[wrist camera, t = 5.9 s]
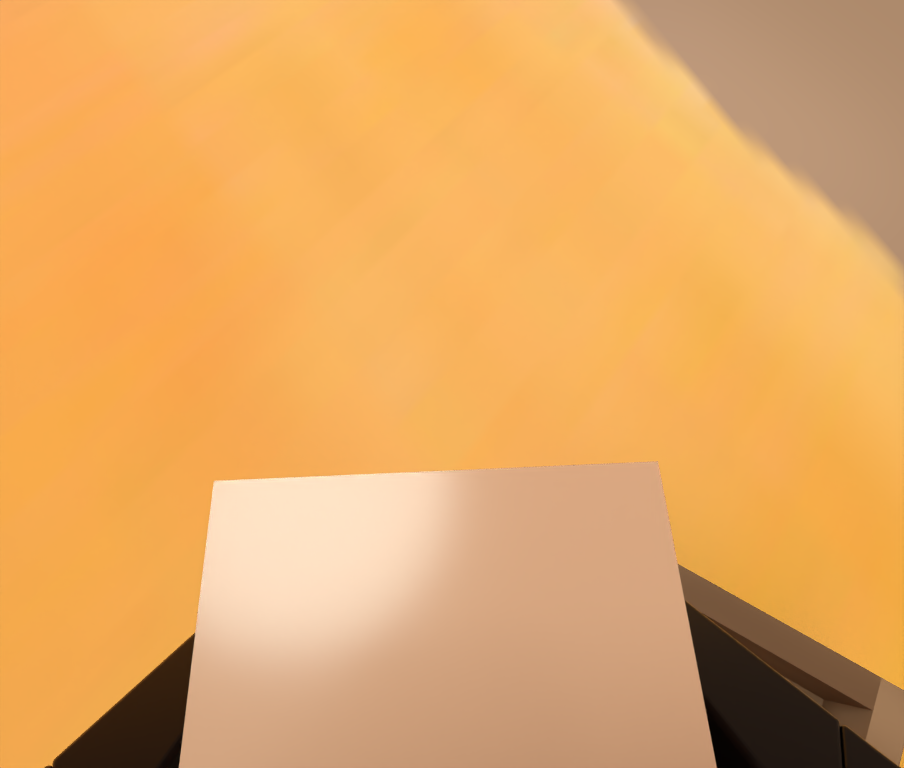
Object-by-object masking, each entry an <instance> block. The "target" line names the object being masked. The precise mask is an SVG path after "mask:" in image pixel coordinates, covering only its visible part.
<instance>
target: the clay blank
mask: <svg viewBox="0 0 904 768" xmlns="http://www.w3.org/2000/svg"><path fill="white" fill-rule="evenodd" d="M179 768H717V766H716V761H715V756H714V750H713V745H712V740H711V735H710V730H709V724H708V719H707V714H706V709H705V704H704V699H703V693H702V688H701V683H700V678H699V673H698V667H697V662H696V657H695V652H694V647H693V641H692V636H691V631H690V626H689V621H688V615H687V610H686V605H685V600H684V595H683V590H682V584H681V579H680V574H679V569H678V564H677V558H676V553H675V548H674V543H673V538H672V532H671V527H670V522H669V517H668V512H667V506H666V501H665V496H664V491H663V486H662V481H661V475H660V470H659V465H658V461H657V462H635V463H612V464H589V465H566V466H544V467H521V468H498V469H476V470H453V471H430V472H407V473H385V474H362V475H339V476H316V477H294V478H271V479H248V480H225V481H214V485H213V493H212V502H211V510H210V518H209V526H208V534H207V542H206V551H205V559H204V567H203V575H202V583H201V591H200V599H199V608H198V616H197V624H196V632H195V640H194V648H193V657H192V665H191V673H190V681H189V689H188V697H187V705H186V714H185V722H184V730H183V738H182V746H181V754H180V763H179Z"/></svg>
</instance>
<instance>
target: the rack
mask: <svg viewBox="0 0 904 768" xmlns="http://www.w3.org/2000/svg"><path fill="white" fill-rule="evenodd" d="M678 569H679V574H680V579H681V584H682V590H683V595H684V600H686V601H687V602H688V603H690V604H691V605H692V606H693V607H695V608H696V609H697V610H698V611H700V612H701V613H702V614H704V615H705V616H706V617H707V618H709V619H710V620H711V621H713V622H714V623H715V624H716V625H718V626H719V627H720V628H722V629H723V630H724V631H725V632H727V633H728V634H729V635H731V636H732V637H733V638H734V639H736V640H737V641H738V642H739V643H741V644H742V645H743V646H745V647H746V648H747V649H748V650H750V651H751V652H752V653H754V654H755V655H756V656H757V657H759V658H760V659H761V660H763V661H764V662H765V663H766V664H768V665H769V666H770V667H772V668H773V669H774V670H775V671H777V672H778V673H779V674H780V675H782V676H783V677H784V678H786V679H787V680H788V681H789V682H791V683H792V684H793V685H795V686H796V687H797V688H798V689H800V690H801V691H802V692H804V693H805V694H806V695H807V696H809V697H810V698H811V699H813V700H814V701H815V702H816V703H818V704H819V705H820V706H821V707H823V708H824V709H825V710H827V711H828V712H829V713H830V714H832V715H833V716H834V717H836V718H837V719H838V720H839V722H840V727H841V726H842V725H846V726H847V727H849V728H850V729H851V730H853V731H854V732H855V733H856V734H858V735H859V736H860V737H862V738H863V739H864V740H865V741H867V742H868V743H869V744H871V745H872V746H873V747H874V748H876V749H877V750H878V751H880V752H881V753H882V754H884V755H885V756H886V757H888V758H889V759H890V760H892V761H893V762H894V763H896V764H897V765H898V766H899V765H900V761H901V756H902V752H903V748H904V690H902V689H901V688H899V687H897V686H895V685H893V684H892V683H890V682H888V681H886V680H884V679H883V678H881V677H879V676H877V675H875V674H874V673H872V672H870V671H868V670H867V669H865V668H863V667H861V666H859V665H858V664H856V663H854V662H852V661H850V660H849V659H847V658H845V657H843V656H841V655H840V654H838V653H836V652H834V651H833V650H831V649H829V648H827V647H825V646H824V645H822V644H820V643H818V642H816V641H815V640H813V639H811V638H809V637H808V636H806V635H804V634H802V633H800V632H799V631H797V630H795V629H793V628H791V627H790V626H788V625H786V624H784V623H782V622H781V621H779V620H777V619H775V618H774V617H772V616H770V615H768V614H766V613H765V612H763V611H761V610H759V609H757V608H756V607H754V606H752V605H750V604H748V603H747V602H745V601H743V600H741V599H740V598H738V597H736V596H734V595H732V594H731V593H729V592H727V591H725V590H723V589H722V588H720V587H718V586H716V585H714V584H713V583H711V582H709V581H707V580H706V579H704V578H702V577H700V576H698V575H697V574H695V573H693V572H691V571H689V570H688V569H686V568H684V567H682V566H680V565H679V564H678Z"/></svg>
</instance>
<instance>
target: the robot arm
mask: <svg viewBox="0 0 904 768" xmlns="http://www.w3.org/2000/svg"><path fill="white" fill-rule="evenodd" d="M685 605H686V610H687V615H688V621H689V626H690V631H691V636H692V641H693V647H694V652H695V657H696V662H697V667H698V673H699V678H700V683H701V688H702V693H703V699H704V704H705V709H706V714H707V719H708V724H709V730H710V735H711V740H712V745H713V750H714V756H715V761H716V766H717V768H901V767H899V766H898V765H897V764H896V763H894V762H893V761H892V760H890V759H889V758H888V757H886V756H885V755H884V754H882V753H881V752H880V751H878V750H877V749H876V748H874V747H873V746H872V745H871V744H869V743H868V742H867V741H865V740H864V739H863V738H862V737H860V736H859V735H858V734H856V733H855V732H854V731H853V730H851V729H850V728H849V727H847V726H846V725H842V726H841V727H840V722H839V720H838V719H837V718H836V717H834V716H833V715H832V714H830V713H829V712H828V711H827V710H825V709H824V708H823V707H821V706H820V705H819V704H818V703H816V702H815V701H814V700H813V699H811V698H810V697H809V696H807V695H806V694H805V693H804V692H802V691H801V690H800V689H798V688H797V687H796V686H795V685H793V684H792V683H791V682H789V681H788V680H787V679H786V678H784V677H783V676H782V675H780V674H779V673H778V672H777V671H775V670H774V669H773V668H772V667H770V666H769V665H768V664H766V663H765V662H764V661H763V660H761V659H760V658H759V657H757V656H756V655H755V654H754V653H752V652H751V651H750V650H748V649H747V648H746V647H745V646H743V645H742V644H741V643H739V642H738V641H737V640H736V639H734V638H733V637H732V636H731V635H729V634H728V633H727V632H725V631H724V630H723V629H722V628H720V627H719V626H718V625H716V624H715V623H714V622H713V621H711V620H710V619H709V618H707V617H706V616H705V615H704V614H702V613H701V612H700V611H698V610H697V609H696V608H695V607H693V606H692V605H691V604H690V603H688V602H687V601H686V600H685ZM194 640H195V633H194V634H193V635H192V636H191V637H190V638H189V639H187V640H186V641H185V642H184V643H183V644H182V645H181V646H180V647H179V648H177V649H176V650H175V651H174V652H173V653H172V654H171V655H170V656H169V657H167V658H166V659H165V660H164V661H163V662H162V663H161V664H160V665H159V666H157V667H156V668H155V669H154V670H153V671H152V672H151V673H150V674H149V675H147V676H146V677H145V678H144V679H143V680H142V681H141V682H140V683H139V684H137V685H136V686H135V687H134V688H133V689H132V690H131V691H130V692H129V693H127V694H126V695H125V696H124V697H123V698H122V699H121V700H120V701H119V702H117V703H116V704H115V705H114V706H113V707H112V708H111V709H110V710H109V711H107V712H106V713H105V714H104V715H103V716H102V717H101V718H100V719H99V720H97V721H96V722H95V723H94V724H93V725H92V726H91V727H90V728H89V729H87V730H86V731H85V732H84V733H83V734H82V735H81V736H80V737H79V738H77V739H76V740H75V741H74V742H73V743H72V744H71V745H70V746H69V747H67V748H66V749H65V750H64V751H63V752H62V753H61V754H60V755H59V756H57V757H56V758H55V759H54V761H53V767H52V766H46V767H45V768H179V763H180V754H181V746H182V738H183V730H184V722H185V714H186V705H187V697H188V689H189V681H190V673H191V665H192V657H193V648H194Z"/></svg>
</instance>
